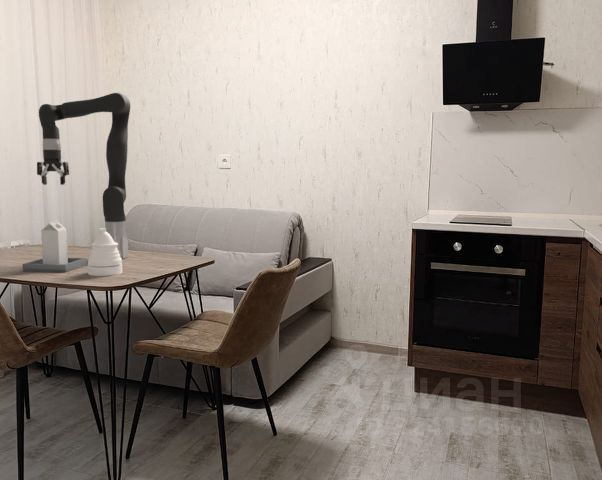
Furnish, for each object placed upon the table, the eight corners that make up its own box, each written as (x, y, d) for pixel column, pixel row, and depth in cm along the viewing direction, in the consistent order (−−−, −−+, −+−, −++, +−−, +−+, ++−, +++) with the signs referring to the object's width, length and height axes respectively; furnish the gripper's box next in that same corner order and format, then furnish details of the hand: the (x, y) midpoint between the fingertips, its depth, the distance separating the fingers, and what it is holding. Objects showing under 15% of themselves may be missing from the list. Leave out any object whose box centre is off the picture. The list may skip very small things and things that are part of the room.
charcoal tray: (87, 264, 238) (86, 258, 238) (65, 272, 221) (65, 264, 220) (47, 263, 240) (46, 257, 240) (22, 271, 222) (22, 263, 222)
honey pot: (117, 275, 214) (116, 229, 212) (83, 276, 213) (81, 229, 211) (125, 270, 227) (124, 226, 225) (93, 270, 226) (92, 226, 224)
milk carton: (42, 266, 227) (40, 220, 225) (51, 264, 234) (49, 219, 232) (59, 267, 226) (57, 221, 224) (68, 264, 234) (66, 219, 231)
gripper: (32, 148, 250) (34, 184, 252) (62, 148, 249) (64, 184, 251) (41, 149, 258) (43, 184, 260) (70, 149, 256) (72, 184, 258)
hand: (53, 184), depth 255 cm, fingers open, 8 cm apart
